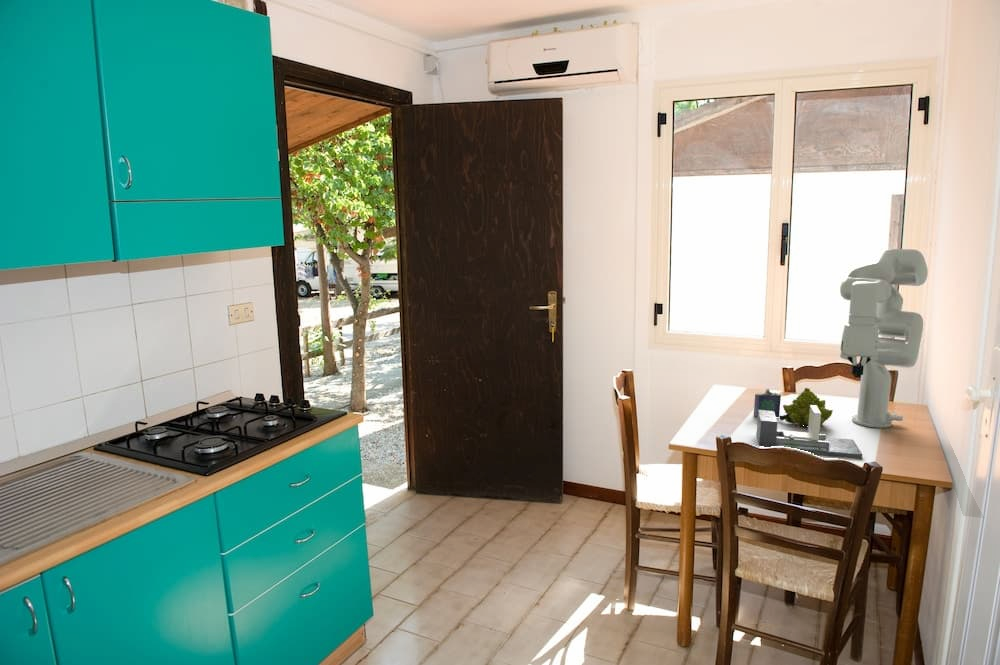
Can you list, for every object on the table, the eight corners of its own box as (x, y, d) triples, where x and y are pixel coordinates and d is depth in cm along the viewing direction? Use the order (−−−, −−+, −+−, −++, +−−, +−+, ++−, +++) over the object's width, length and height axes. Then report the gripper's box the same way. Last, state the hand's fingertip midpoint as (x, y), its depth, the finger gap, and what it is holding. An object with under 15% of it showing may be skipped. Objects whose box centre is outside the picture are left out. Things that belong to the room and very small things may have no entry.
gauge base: (852, 443, 219) (855, 416, 217) (862, 459, 206) (864, 430, 204) (756, 435, 228) (758, 409, 226) (759, 449, 214) (761, 421, 213)
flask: (754, 417, 247) (756, 390, 245) (752, 415, 250) (754, 387, 248) (780, 418, 246) (782, 390, 244) (777, 416, 249) (779, 388, 247)
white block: (813, 438, 220) (816, 405, 218) (818, 448, 210) (821, 414, 208) (781, 435, 223) (784, 403, 221) (785, 445, 213) (787, 412, 211)
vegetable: (768, 411, 241) (793, 378, 239) (793, 428, 248) (818, 396, 246) (795, 431, 228) (823, 396, 226) (821, 448, 235) (848, 415, 232)
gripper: (885, 319, 210) (879, 375, 214) (833, 318, 214) (829, 372, 218) (892, 323, 203) (886, 381, 207) (838, 322, 207) (833, 378, 211)
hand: (856, 376), depth 212 cm, fingers closed
